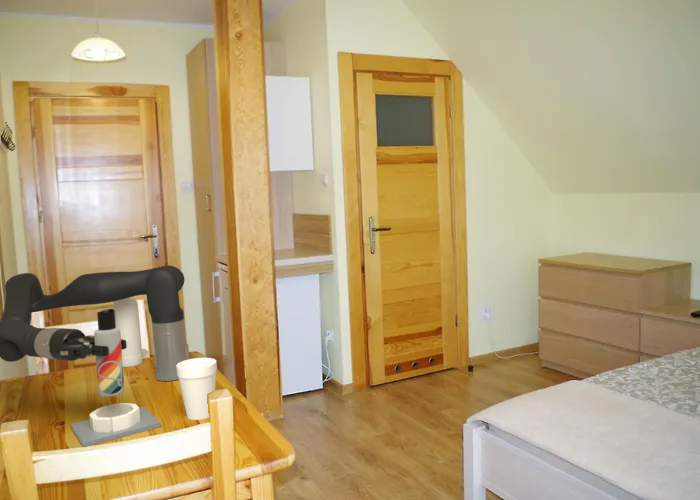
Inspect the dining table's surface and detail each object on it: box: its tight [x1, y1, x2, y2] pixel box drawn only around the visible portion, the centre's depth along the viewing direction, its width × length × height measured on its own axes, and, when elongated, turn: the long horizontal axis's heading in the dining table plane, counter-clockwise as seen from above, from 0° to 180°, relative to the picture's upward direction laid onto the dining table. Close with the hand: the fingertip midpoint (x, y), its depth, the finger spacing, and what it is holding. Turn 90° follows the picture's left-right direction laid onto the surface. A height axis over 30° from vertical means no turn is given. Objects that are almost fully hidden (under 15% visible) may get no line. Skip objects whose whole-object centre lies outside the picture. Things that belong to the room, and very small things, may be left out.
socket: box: [70, 402, 162, 448], centre depth 141 cm, size 17×14×4 cm
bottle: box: [111, 296, 144, 368], centre depth 194 cm, size 8×8×30 cm
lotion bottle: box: [93, 308, 125, 398], centre depth 140 cm, size 6×6×20 cm
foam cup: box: [176, 357, 218, 421], centre depth 146 cm, size 10×9×13 cm
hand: (116, 347), depth 138 cm, fingers closed on lotion bottle, 5 cm apart
